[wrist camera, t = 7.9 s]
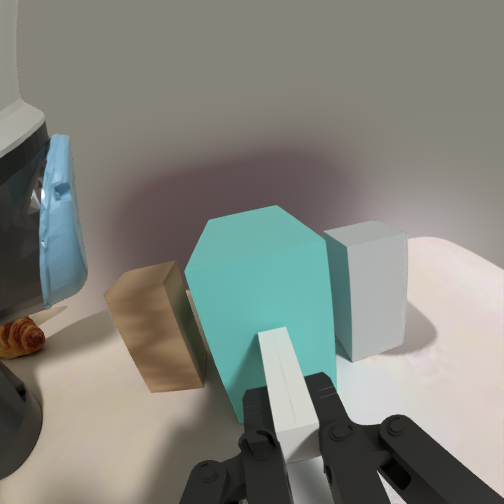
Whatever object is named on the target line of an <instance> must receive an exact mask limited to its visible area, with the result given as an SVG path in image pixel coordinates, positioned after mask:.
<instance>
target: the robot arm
mask: <svg viewBox="0 0 504 504" xmlns="http://www.w3.org/2000/svg"><path fill="white" fill-rule="evenodd" d="M17 8H18V0H0V326H2V325H5V324H7V323H10V322H13V321H15V320H18V319H21V318H23V317H26V316H29V315H31V314H34V313H37V312H40V311H42V310H47V309H50V308H51V306H52V305H54V304H56V303H58V302H60V301H62V300H64V299H66V298H68V297H71V296H72V295H75V294H76V293H78V292H79V291H80V289H81V288H82V287H83V286H84V284H85V282H86V280H87V275H88V266H87V259H86V253H85V247H84V241H83V235H82V229H81V222H80V216H79V209H78V202H77V194H76V185H75V176H74V167H73V157H72V151H71V141H70V138H69V137H68V136H67V135H59V134H55V135H53V136H52V138H49V136H48V134H47V128H46V123H45V117H44V113H43V112H42V111H40V110H38V109H36V108H34V107H33V106H31V105H29V104H27V103H25V102H23V101H22V99H21V96H20V94H19V86H18V76H17V61H16V24H17ZM258 336H259V342H260V348H261V354H262V359H263V365H264V371H265V376H266V382H267V386H263V387H258V388H253V389H247V390H246V391H245V394H244V396H243V398H242V402H243V415H244V429H245V433H244V434H243V435H242V436H241V437H240V439H239V443H238V445H239V447H240V449H241V453H240V454H238V455H237V456H236V457H234V458H232V459H229V460H227V461H224V462H221V463H220V462H217V461H214V460H206V461H203V462H200V463H198V464H197V465H196V466H194V468H193V470H192V471H191V474H190V476H189V479H188V482H187V484H186V487H185V490H184V492H183V495H182V498H181V500H180V503H179V504H242V503H243V499H246V498H247V501H248V504H294V501H293V496H292V491H291V486H290V482H289V477H288V473H287V469H286V464H289V463H293V462H298V461H302V460H306V459H310V458H314V457H318V456H321V455H322V459H323V464H324V473H326V476H327V480H328V483H329V486H330V490H331V493H332V496H333V499H334V503H335V504H391V503H390V500H389V498H388V496H387V493H386V491H385V489H384V486H383V484H382V482H381V479H380V477H379V475H378V473H377V471H378V472H379V473H380V474H381V476H382V477H383V478H384V479H385V480H386V481H387V482H388V483H389V485H390V486H391V487H392V488H393V489H394V490H395V491H396V492H397V493H398V494H399V496H400V497H401V498H402V499H403V500H404V501H405V502H406V503H407V504H504V498H503V497H501V496H500V495H499V494H498V493H496V492H495V491H494V490H493V489H492V488H490V487H489V486H488V485H487V484H486V483H484V482H483V481H482V480H481V479H480V478H478V477H477V476H476V475H475V474H474V473H472V472H471V471H470V470H469V469H468V468H466V467H465V466H464V465H463V464H462V463H461V462H459V461H458V460H457V459H456V458H455V457H454V456H452V455H451V454H450V453H449V452H448V451H447V450H445V449H444V448H443V447H442V446H441V445H440V444H439V443H437V442H436V441H435V440H434V439H433V438H432V437H430V436H429V435H428V434H427V433H426V432H425V431H424V430H422V429H421V428H420V427H419V426H418V425H417V424H416V423H415V422H413V421H412V420H411V419H410V418H408V417H407V416H405V415H399V414H398V415H392V416H390V417H387V418H386V419H385V420H384V421H383V422H382V423H381V424H376V425H359V424H356V423H354V422H353V421H352V420H350V418H349V417H348V415H347V413H346V411H345V408H344V406H343V404H342V402H341V400H340V398H339V395H338V394H337V391H336V389H335V387H334V384H333V382H332V380H331V378H330V377H329V376H328V375H326V374H325V373H324V372H323V371H322V372H319V373H315V374H312V375H308V376H304V377H303V374H302V372H301V369H300V366H299V363H298V360H297V357H296V354H295V351H294V349H293V346H292V343H291V340H290V337H289V334H288V331H287V329H286V326H285V327H281V328H277V329H272V330H268V331H263V332H259V333H258ZM41 421H42V412H41V407H40V405H39V402H38V401H37V399H36V398H35V397H34V395H33V394H32V392H31V391H30V390H29V388H28V387H27V386H26V385H25V383H24V382H22V381H21V380H20V379H19V378H18V377H17V376H16V375H15V374H14V373H12V372H11V371H10V370H9V369H8V368H7V367H6V366H5V365H4V364H3V363H2V362H1V361H0V480H1V479H3V478H5V477H7V476H8V475H10V474H11V473H13V472H14V471H15V470H16V469H17V468H18V467H19V466H20V465H21V464H22V463H23V462H24V461H25V459H26V458H27V457H28V455H29V454H30V452H31V450H32V448H33V447H34V445H35V443H36V440H37V438H38V435H39V432H40V427H41Z"/></svg>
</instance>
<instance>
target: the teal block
mask: <svg viewBox="0 0 504 504" xmlns="http://www.w3.org/2000/svg"><path fill="white" fill-rule="evenodd" d="M184 272H185V275H186V278H187V282H188V285H189V288H190V291H191V295H192V298H193V301H194V304H195V307H196V310H197V313H198V316H199V319H200V322H201V325H202V328H203V331H204V334H205V336H206V339H207V342H208V345H209V348H210V350H211V353H212V356H213V359H214V361H215V364H216V367H217V369H218V372H219V374H220V377H221V380H222V382H223V385H224V387H225V390H226V392H227V395H228V397H229V400H230V402H231V404H232V407H233V409H234V412H235V414H236V416H237V419H238V421H239V423H240V424H244V415H243V402H242V398H243V396H244V394H245V391H246V390H247V389H253V388H258V387H263V386H267V382H266V376H265V371H264V365H263V359H262V354H261V348H260V342H259V336H258V333H259V332H263V331H268V330H272V329H277V328H281V327H285V326H286V329H287V331H288V334H289V337H290V340H291V343H292V346H293V349H294V351H295V354H296V357H297V360H298V363H299V366H300V369H301V372H302V374H303V377H304V376H308V375H312V374H315V373H319V372H322V371H323V372H324V373H325V374H326V375H328V376H329V377H330V378H331V380H332V382H333V384H334V387H335V389H336V391H337V381H336V353H335V334H334V319H333V306H332V295H331V284H330V275H329V266H328V257H327V249H326V241H325V240H324V239H323V238H321V237H320V236H319V235H317V234H316V233H315V232H313V231H312V230H311V229H309V228H308V227H306V226H305V225H304V224H302V223H301V222H299V221H298V220H297V219H295V218H294V217H293V216H291V215H290V214H288V213H287V212H285V211H284V210H283V209H281V208H280V207H278V206H277V205H275V206H271V207H266V208H261V209H256V210H252V211H247V212H242V213H238V214H233V215H229V216H224V217H220V218H216V219H211V220H209V221H208V223H207V225H206V227H205V229H204V231H203V233H202V235H201V237H200V239H199V241H198V243H197V246H196V248H195V250H194V252H193V254H192V256H191V258H190V261H189V263H188V265H187V267H186V269H185V271H184Z"/></svg>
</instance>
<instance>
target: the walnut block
mask: <svg viewBox="0 0 504 504" xmlns="http://www.w3.org/2000/svg"><path fill="white" fill-rule="evenodd" d="M104 297H105V299H106V302H107V304H108V307H109V309H110V312H111V314H112V316H113V319H114V321H115V323H116V325H117V328H118V330H119V332H120V334H121V336H122V338H123V340H124V343H125V345H126V347H127V349H128V351H129V353H130V355H131V357H132V359H133V360H134V362H135V364H136V366H137V368H138V370H139V372H140V374H141V375H142V377H143V379H144V381H145V383H146V384H147V386H148V388H149V390H150V391H151V393H154V392H168V391H179V390H188V389H197V388H204V380H205V370H206V360H207V352H206V349H205V346H204V344H203V341H202V338H201V335H200V333H199V330H198V327H197V324H196V321H195V318H194V315H193V312H192V309H191V306H190V303H189V300H188V297H187V294H186V291H185V288H184V285H183V282H182V278H181V275H180V272H179V268H178V265H177V262H176V260H175V261H171V262H166V263H162V264H157V265H153V266H149V267H144V268H140V269H135V270H132V271H127V272H125V273H124V274H123V275H122V276H121V277H120V278H119V279H118V280H117V281H116V282H115V283H114V284H113V285H112V286H111V287H110V288H109V289H108V290H107V292H106V293H105V294H104Z"/></svg>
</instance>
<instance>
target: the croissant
mask: <svg viewBox="0 0 504 504" xmlns="http://www.w3.org/2000/svg"><path fill="white" fill-rule="evenodd" d="M44 342H45V336H44V333H43V332H42V331H41V329H40V328H39V327H37V326H36V325H35V323H34V322H33V320H32V319H30V318H29V317H28V316H26V317H23V318H21V319H18V320H15V321H13V322H10V323H7V324H5V325H2V326H0V358H1V357H2V358H4V357H6V358H7V359H12V358H14V357H18V356H21V355H28V354H31V353H33V352H35V351H38V350H39V349H40V348H41V347H42V345H43V344H44Z"/></svg>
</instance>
